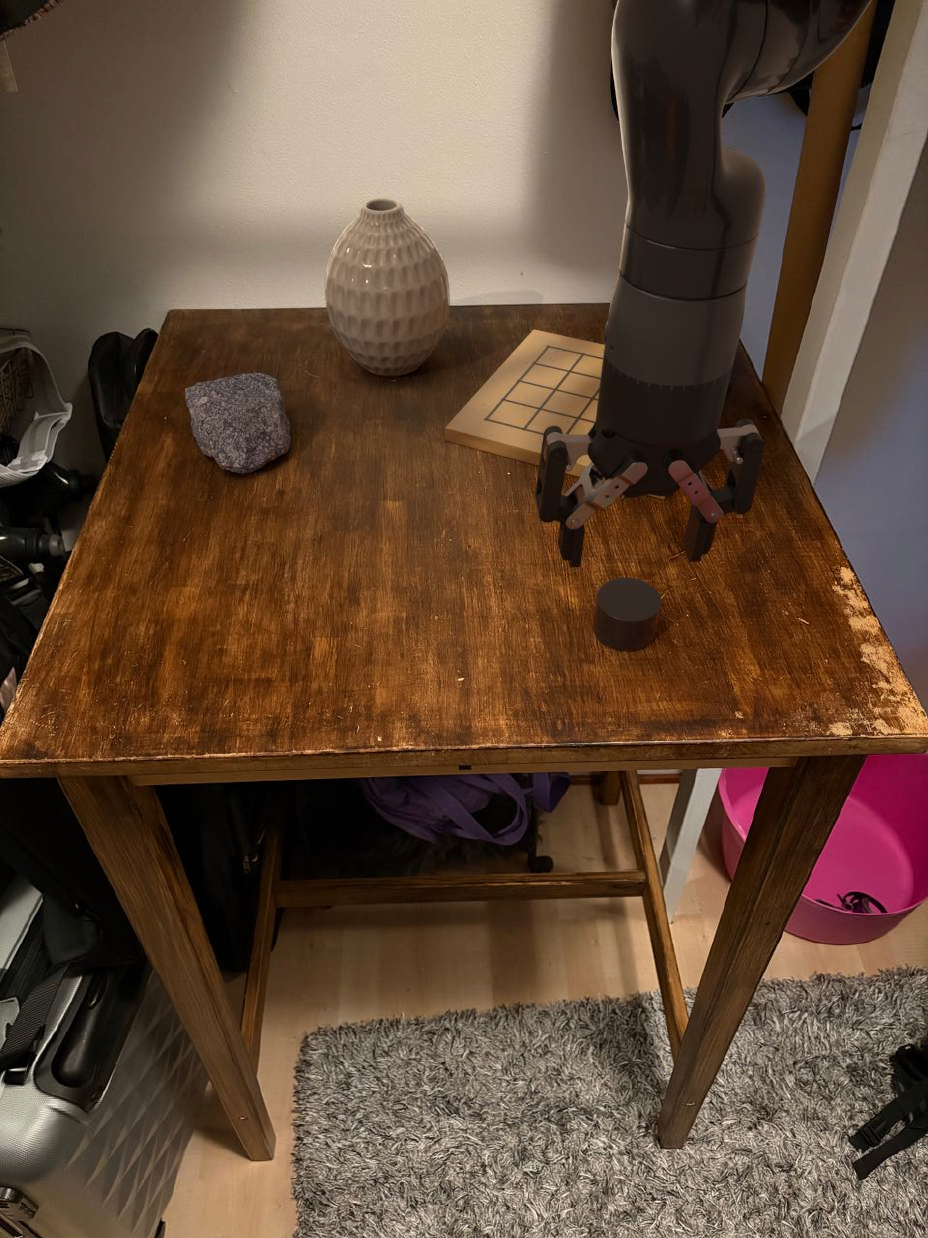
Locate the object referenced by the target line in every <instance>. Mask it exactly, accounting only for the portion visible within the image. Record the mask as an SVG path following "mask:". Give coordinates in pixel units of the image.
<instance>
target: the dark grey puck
mask: <svg viewBox="0 0 928 1238" xmlns="http://www.w3.org/2000/svg"><path fill="white" fill-rule="evenodd" d="M661 609H662V597H661V595H660V593H659V591H658V590H657V589H656V587H654V586H653V585H651V584H650V583H648V582H646V581H644V580H642V579H639V578H635V577H627V576H626V577H625V576H624V577H617V578H612V579H610V580H607V581H606V582H604V583H603V584H602V585H601V586H600V587H599V588H598V589H597V591H596V596H595V604H594V613H593V619H592V631H593V634H594V636H595V637H596V639H597V640H598V641H599V642H600V643H601V644H602V645H604V646H606V647H608V648H609V649H612V650H616V651H619V652H635V651H640V650H642V649H644V648H646V647H648V646H650V645H651V643H652V642H654V639H655V637H656V633H657V629H658V624H659V619H660V615H661V614H660V613H661Z"/></svg>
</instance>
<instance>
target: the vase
mask: <svg viewBox="0 0 928 1238" xmlns="http://www.w3.org/2000/svg"><path fill="white" fill-rule="evenodd" d="M450 289H451V288H450V281H449V275H448V271H447V268H446V264H445V262H444V259H443V257H442V255H441V253H440V250H439V248H438V247H437V245H436V242H435V241H434V240H433V239H432V237H431V236H430V235H429V233H428V232H427V230H426V229H425V228H424V227H422V225H421V224H420V223H419V222H418V221H416V220H415V219H414V218H413V217H411V215H409V214H408V213H407V212H406V211H405V208H404V206H403V204H402V203H401V202H400V201H398V200H396V199H394V198H387V197H386V198H385V197H380V198H372V199H369V200H366V201H365V202H363V203H362V204H361V206H360V210H359V213H358V214H357V216H356V217H355V218H354V219H352V221H351V222H350V223H349V224H348V225H347V226H346V227H345V228H344V230H343V231H342V232H341V233H340V234H339V237H338V239H337V241H336V242H335V243H334V246H333V248H332V250H331V253H330V256H329V258H328V261H327V265H326V271H325V276H324V299H325V309H326V312H327V318H328V322H329V324H330V326H331V329H332V331H333V334H334V336H335V337H336V339H337V340H338V342H339V343H340V345H341V347H342V348H343V349H344V350H345V352H346V353H347V355H348V356H350V358H351V359H352V360H353V361H354V362H355V363H357V364H358V365H359V366H361V367H362V368H363V369H364V370H366V371H367V373H370V374H372V375H375V376H379V377H386V378H396V377H402V376H406V375H409V374H411V373H413V372H415V371H416V370H418V369H419V368H420V367H421V366H422V365H423V364H425V362H426V361H427V360H428V359H429V358H430V356H432V354H433V353H434V352H435V350H436V348H437V346H438V345H439V343H440V340H441V339H442V337H443V335H444V333H445V330H446V327H447V324H448V319H449V315H450V304H451V294H450V293H451V291H450Z"/></svg>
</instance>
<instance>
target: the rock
mask: <svg viewBox="0 0 928 1238" xmlns="http://www.w3.org/2000/svg"><path fill="white" fill-rule="evenodd" d="M184 392H185V393H184V398H185V404H186V407H187V408H188V411H189V413H190V414H189V415H190V418H191V419H190V426H191V430H192V436H193V437H194V438H195V440H196V444H197V445H198V447H199V449H200V451H201V452H202V453H203V455H206V456H208V457H209V458H213V459H214V461H215V463H217V464H218V467H219V468H220V469H222V470H226V471H229V472H232V473H237V474H250V473H253V472H256V471H258V470H260V469H261V468H263V467H265V465H266V464H267V463H269V462H271V461H272V462H273V461H275V460H276V459H277V458H279V457H281V456H282V455H285V454H286V453H287V452H288V451H289V449H290V447H291V436H290V433H291V422H290V420H289V419H288V416H287V413H286V409H285V399H284V396H283V394H282V390H281V387H280V384H279V382H278V380H277V379H276V378H275V377H272V376H270V375H269V374H265V373H262V372H253V373H240V374H236V375H233V376H226V377H225V376H224V377H220V378H217V379H215V380H206V381H201V382H200V381H199V382H197V383H195V384H194V385H192V386H190V387H185V388H184Z"/></svg>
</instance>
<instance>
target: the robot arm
mask: <svg viewBox="0 0 928 1238" xmlns="http://www.w3.org/2000/svg"><path fill="white" fill-rule="evenodd" d="M872 1H873V0H617V2H616V5H615V10H614V13H613V21H612V28H611V47H610V48H611V63H612V74H613V75H612V76H613V82H614V89H615V97H616V105H617V112H618V121H619V129H620V137H621V147H622V148H621V149H622V154H623V155H622V156H623V161H624V170H625V177H626V184H627V202H626V209H625V215H624V225H623V231H622V241H621V247H620V257H619V262H618V263H619V265H618V270H617V276H616V279H615V283H614V287H613V291H612V294H611V298H610V303H609V309H608V315H607V321H606V323H605V326H604V333H603V340H604V345H605V348H604V356H603V364H602V372H601V380H600V388H599V396H598V405H597V413H596V420H595V423H594V425H593V427H592V428H591V429H590V431H589V432H588V434H587V435H575V434H563V432H562V430H561V428H560V427H558V426H550V427H548V428H547V429H546V430H545V431H544V435H543V442H542V449H541V456H540V463H539V466H538V471H537V478H536V483H535V490H534V497H535V502H536V506H537V507H536V508H537V511H538V517H539V519H540V521H541V522H542V523H544V524H549V523H553V522H558V523H559V527H558V538H557V544H558V549H559V554H560V556H561V559H562V561H563V562H564V561H565V562H566V561H567V562H568V566H569V568H581V567H582V566H581V565H582V557H583V551H584V541H585V533H586V527H585V524H586V522H588V520H589V519H591V518H592V517H593V516H594V515H595V514H596V513H597V512H598V511H600V512H604V511H605V510H606V509H607V508H609V507H610V506H611V504H613V503H614V502H615V501H616V500H617V499H618V498H619V497H620V496H621V495H623V497H624V499H628V498H629V499H631V498H632V499H633V498H638V497H644V496H648V494H650V495H656V496H666V497H672V495H673V493H674V492H676V491H679V490H680V489H681V490H682V491H683V493H684V494H685V496H686V497H687V499H689V501H690V502H691V504H690V505H691V506H690V510H689V513H688V514H689V515H688V519H687V523H686V528H685V532H684V537H683V545H682V547H683V550H684V553H685V554H686V558H687V560H688V562H689V563H699V562H702V557H703V555H707V554H708V553H709V552H710V551H711V550H712V548H713V547H712V546H713V542H714V538H715V535H716V531H717V527H718V523H719V522H720V521H721V520H722V519H723V517H724V516H725V515H727V514H730V513H735V514H737V515H746V514H747V513H748V512H750V511H751V509H752V507H753V502H754V499H755V493H756V488H757V484H758V480H759V474H760V470H761V465H762V460H763V455H764V451H765V446H766V445H765V442H764V440H763V438H762V435H761V434H760V432H759V430H758V429H757V426H756V425H755V424H754V421H753V420H752V419H750V418H742V419H740V420H738V421H737V422H736V423H735V425H734V427H728V428H718V427H719V424H720V422H721V419H722V413H723V409H724V404H725V401H726V396H727V393H728V389H729V384H730V380H731V376H732V371H733V367H734V362H735V358H736V354H737V349H738V345H739V340H740V337H741V332H742V327H743V323H744V318H745V317H744V316H745V309H746V295H747V289H748V281H749V278H750V273H751V269H752V264H753V261H754V256H755V252H756V248H757V243H758V239H759V235H760V230H761V225H762V221H763V220H762V219H763V215H764V209H765V205H766V198H767V182H766V176H765V173H764V171H763V169H762V168H761V166H760V164H759V163H758V162H757V161H756V160H755V159H754V158H752V156H749V155H747V154H746V153H744V152H741V151H739V150H736V149H733V148H730V147H725V146H723V142H722V119H723V113H724V108H725V105H728V104H734V103H738V102H741V101H747V100H752V99H755V98H761V97H764V96H765V97H766V96H769V95H772V94H776V93H779V92H781V91H783V90H786V89H788V88H790V87H792V86H794V85H795V84H797V83H798V82H800V81H802V80H803V79H804V78H805V77H807V76H808V75H810V74H812V72H813V71H814V70H816V69H817V68H818V67H820V65H822V64H823V63H824V62H825V61H826V60H827V59H828V58H829V57H831V56H832V54H833V53H835V51H836V50H838V48H839V47H840V46H841V45H842V43H844V41H845V40H846V39H847V37H848V36H849V35H850V34H851V32H852V31H853V29H854V28H855V27H856V25H857V24H858V23H859V21H860V19H861V18H862V17H863V15H864V13H865V12H866V10H867V9H868V7H869V6H870V4H871V2H872ZM720 450H723V452H724V454H725V456H726V459H727V461H728V462H727V466H726V472H725V478H724V483H723V484H724V485H723V486H721V487H717V488H714V489H713V487H712V486H711V484H710V483H709V482H708V480H707V479H706V478H705V476H704V475H703V473H702V471H701V470H702V469H703V468H704V467H705V466H707V464H709V463H710V462H711V461H712V460H714V459H715V457H716V456H717V455H718V453H719V452H720ZM583 455H588V456H589V458H590V460H591V462H590V463H589V464H588V465H587V466H586V467H585V468H584V470H583V471H582V472H581V474H580V477H579V478H578V480H577V481H576V482H575V483H574V484H573V485H572V486H571V487H570V488H569V489H568V490H567V491H566V492H565V493H564V494H562V492H563V488H564V483H565V482H564V481H565V475H566V473H565V470H566V471H568V472H569V471H571V470H572V469H573V467H574V466H575V464H576V462H577V460H578V458H580V457H581V456H583ZM603 477H604V478H605V479H606V482H605V483H602V479H603Z"/></svg>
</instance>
